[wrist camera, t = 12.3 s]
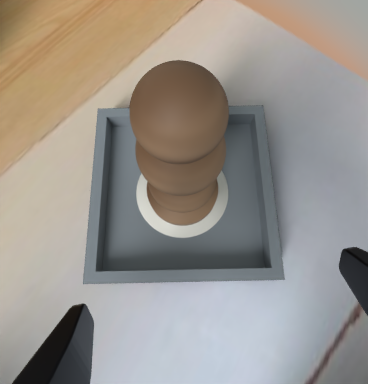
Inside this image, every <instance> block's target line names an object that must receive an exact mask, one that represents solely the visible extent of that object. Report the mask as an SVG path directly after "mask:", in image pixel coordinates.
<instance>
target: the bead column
mask: <svg viewBox="0 0 368 384" xmlns="http://www.w3.org/2000/svg"><path fill="white" fill-rule="evenodd" d="M129 112H130V123H131V127H132V130H133V133H134V135H135V137H136V145H135V155H136V160H137V164H138V167H139V169H140V171H141V173H142V175H143V176H144V178H145V179H146V180H147V181H148V182H147V197H148V200H149V203H150V205H151V207H152V208H153V210H154V211H155V213H156V214H157V215H158V216H159V217H160V218H161V219H163V220H164V221H166V222H168V223H170V224H173V225H179V226H186V225H192V224H195V223H197V222H199V221H201V220H202V219H204V218H205V217H206V216H207V215H208V214H209V213H210V212H211V210H212V209H213V206H214V204H215V202H216V199H217V196H218V182H217V177H218V175H219V174H220V172H221V170H222V168H223V166H224V162H225V157H226V142H225V138H224V134H225V131H226V128H227V124H228V118H229V107H228V101H227V97H226V94H225V91H224V89H223V87H222V86H221V84H220V82H219V81H218V80H217V78H216V77H215V76H214V75H213V74H212V73H211V72H209V71H208V70H207V69H205V68H204V67H202V66H200V65H198V64H195V63H192V62H189V61H180V60H177V61H169V62H165V63H162V64H160V65H158V66H156V67H154V68H152V69H151V70H149V71H148V72H147V73H146V74H145V75H144V76H143V77H142V78H141V79H140V81H139V82H138V84H137V85H136V87H135V89H134V92H133V94H132V97H131V101H130V108H129Z"/></svg>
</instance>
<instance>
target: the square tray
mask: <svg viewBox="0 0 368 384" xmlns="http://www.w3.org/2000/svg"><path fill="white" fill-rule="evenodd" d="M228 107H229V118H228V124H227V128H226V131H225V134H224V138H225V142H226V157H225V162H224V166H223V168H222V170H221V172H220V174H219V175H218V177H217V182H218V196H217V199H216V202H215V204H214V206H213V209H212V210H211V212H210V213H209V214H208V215H207V216H206V217H205V218H204V219H202V220H201V221H199V222H197V223H195V224H192V225H186V226H179V225H173V224H170V223H168V222H166V221H164V220H163V219H161V218H160V217H159V216H158V215H157V214H156V213H155V211H154V210H153V208H152V207H151V205H150V203H149V200H148V197H147V182H148V181H147V180H146V179H145V178H144V176H143V175H142V173H141V171H140V169H139V167H138V164H137V160H136V155H135V145H136V137H135V135H134V133H133V130H132V127H131V123H130V112H129V108H108V109H98V114H97V125H96V137H95V149H94V161H93V172H92V184H91V196H90V208H89V219H88V231H87V243H86V255H85V266H84V278H83V284H106V283H153V282H200V281H248V280H285V278H284V270H283V262H282V254H281V246H280V238H279V230H278V222H277V214H276V205H275V197H274V189H273V181H272V173H271V165H270V157H269V149H268V141H267V132H266V124H265V116H264V108H263V105H262V106H228Z"/></svg>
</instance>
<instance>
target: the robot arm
mask: <svg viewBox="0 0 368 384" xmlns="http://www.w3.org/2000/svg"><path fill="white" fill-rule="evenodd" d="M339 270H340V272H341V274H342V276H343V277H344V279H345V281H346V282H347V284H348V285H349V287H350V289H351V290H352V292H353V294H354V295H355V297H356V298H357V300H358V302H359V303H360V305H361V307H362V308H363V310H364V311H365V313H366V314H367V315H368V252H366V251H364V250H362V249H359V248H357V247H350V248H346V249H343V250H342V253H341V258H340V263H339ZM93 333H94V321H93V318H92V316H91V314H90V312H89V310H88V307H87V306H86V304H78V305H74V306H72V307H71V308H70V309H69V310H68V312H67V313H66V314H65V315H64V317H63V318H62V319H61V321H60V322H59V323H58V325H57V326H56V327H55V328H54V330H53V331H52V332H51V334H50V335H49V336H48V337H47V339H46V340H45V341H44V343H43V344H42V345H41V347H40V348H39V349H38V350H37V352H36V353H35V354H34V356H33V357H32V358H31V359H30V361H29V362H28V363H27V365H26V366H25V367H24V369H23V370H22V371H21V372H20V374H19V375H18V376H17V378H16V379H15V380H14V381H13V383H12V384H90V379H91V369H92V351H93Z"/></svg>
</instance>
